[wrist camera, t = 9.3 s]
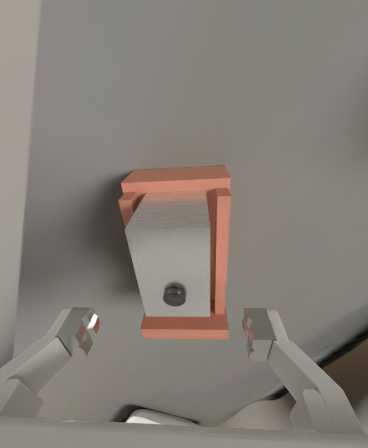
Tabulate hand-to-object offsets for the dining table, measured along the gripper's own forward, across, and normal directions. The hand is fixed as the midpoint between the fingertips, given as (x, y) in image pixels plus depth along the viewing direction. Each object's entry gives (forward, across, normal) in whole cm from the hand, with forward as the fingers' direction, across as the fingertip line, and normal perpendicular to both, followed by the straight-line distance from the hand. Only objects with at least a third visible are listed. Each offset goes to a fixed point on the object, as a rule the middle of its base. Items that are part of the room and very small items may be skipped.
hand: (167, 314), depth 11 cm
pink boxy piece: (+13, 0, +4) cm, 13 cm away
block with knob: (+9, 0, +1) cm, 9 cm away
